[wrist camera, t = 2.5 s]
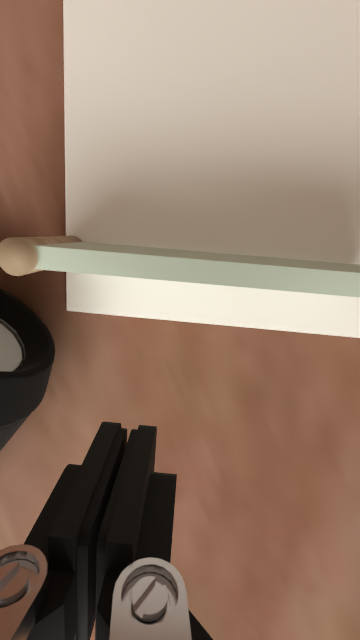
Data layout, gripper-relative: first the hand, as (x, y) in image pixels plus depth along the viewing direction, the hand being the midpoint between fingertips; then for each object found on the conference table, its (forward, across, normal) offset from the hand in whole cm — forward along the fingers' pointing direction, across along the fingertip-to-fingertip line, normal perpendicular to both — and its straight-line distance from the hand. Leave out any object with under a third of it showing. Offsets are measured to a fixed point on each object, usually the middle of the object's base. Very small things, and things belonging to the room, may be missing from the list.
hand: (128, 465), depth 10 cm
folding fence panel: (+11, -2, -5) cm, 13 cm away
